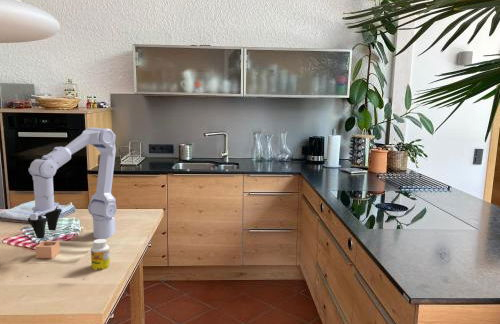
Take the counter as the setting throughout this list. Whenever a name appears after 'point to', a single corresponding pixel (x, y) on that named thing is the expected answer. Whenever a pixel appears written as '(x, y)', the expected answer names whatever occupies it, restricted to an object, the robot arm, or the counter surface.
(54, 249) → the orange hollow cube
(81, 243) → the beige base plate
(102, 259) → the supplement bottle
